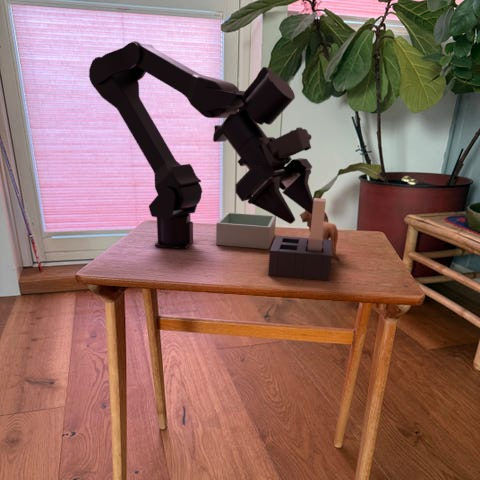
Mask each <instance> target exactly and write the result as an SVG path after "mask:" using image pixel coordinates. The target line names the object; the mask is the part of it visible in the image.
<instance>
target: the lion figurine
mask: <svg viewBox="0 0 480 480" xmlns="http://www.w3.org/2000/svg"><path fill="white" fill-rule="evenodd" d="M299 216H300V219H301V222H302V223H306V226H307V227H308V229H309V232H310V231H311V221H312V214H310V213H309V212H307V211H306V210H305V209H304V211H303V212H301V213H300V214H299ZM322 237H323V239H326V240H332V258H334V259H335V261H337V262H341V258H340V257H339V256H338V254H337V244H338V238H339V231H338V228H337V225H336V224H335V223H332V222H329V217H328V214H327V213H326V212H325V214H324V222H323V231H322Z"/></svg>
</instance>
